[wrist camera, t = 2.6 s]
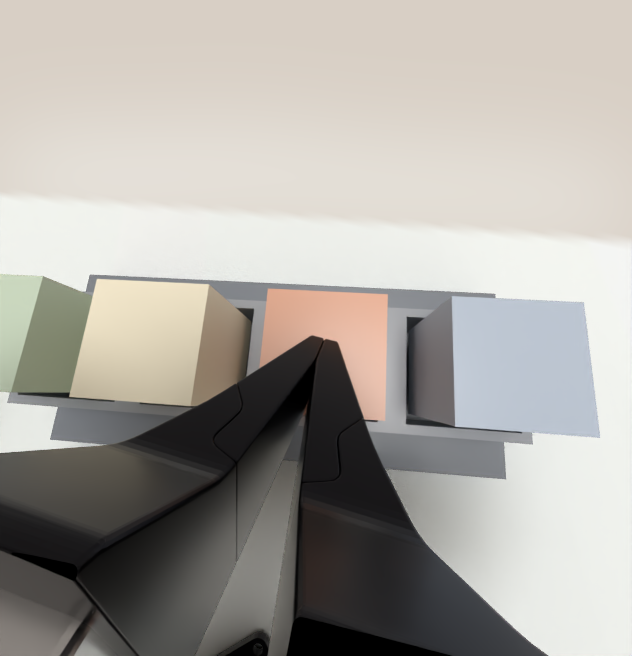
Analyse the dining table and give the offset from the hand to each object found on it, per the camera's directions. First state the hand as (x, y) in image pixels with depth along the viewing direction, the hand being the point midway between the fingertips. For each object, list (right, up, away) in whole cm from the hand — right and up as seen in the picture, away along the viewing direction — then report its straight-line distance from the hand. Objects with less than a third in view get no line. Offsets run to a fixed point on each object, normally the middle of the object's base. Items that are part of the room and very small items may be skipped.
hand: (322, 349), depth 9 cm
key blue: (+6, -2, +5) cm, 8 cm away
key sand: (-6, -1, +6) cm, 8 cm away
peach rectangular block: (0, -1, +6) cm, 6 cm away
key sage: (-12, -1, +6) cm, 13 cm away
